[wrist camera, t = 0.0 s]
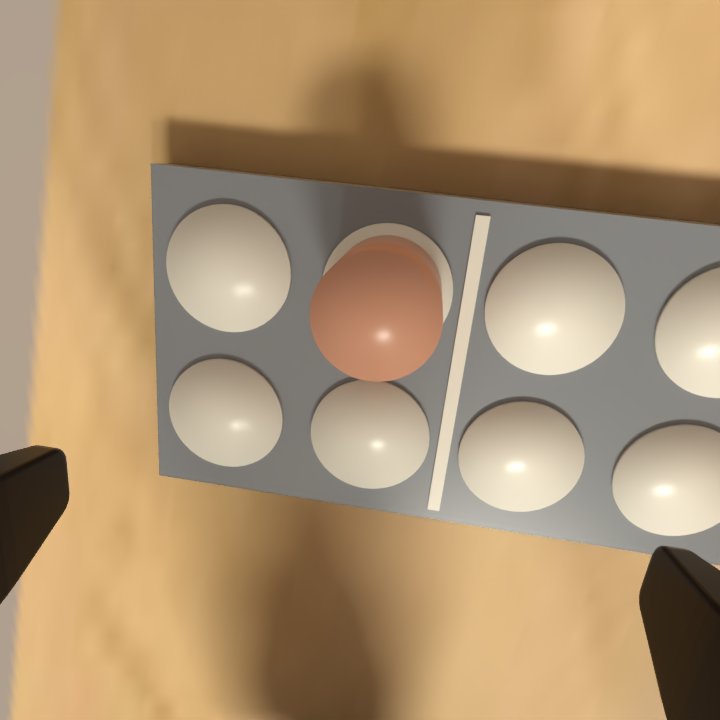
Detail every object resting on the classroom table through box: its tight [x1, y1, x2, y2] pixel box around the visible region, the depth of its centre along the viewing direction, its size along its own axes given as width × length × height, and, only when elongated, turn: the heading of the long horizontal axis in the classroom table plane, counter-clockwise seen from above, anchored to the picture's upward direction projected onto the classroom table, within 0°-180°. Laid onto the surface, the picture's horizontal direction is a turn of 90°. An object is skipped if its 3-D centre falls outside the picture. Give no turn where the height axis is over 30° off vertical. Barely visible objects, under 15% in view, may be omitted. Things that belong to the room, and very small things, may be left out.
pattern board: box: [151, 164, 720, 565], centre depth 20 cm, size 13×24×6 cm, turn 84°
